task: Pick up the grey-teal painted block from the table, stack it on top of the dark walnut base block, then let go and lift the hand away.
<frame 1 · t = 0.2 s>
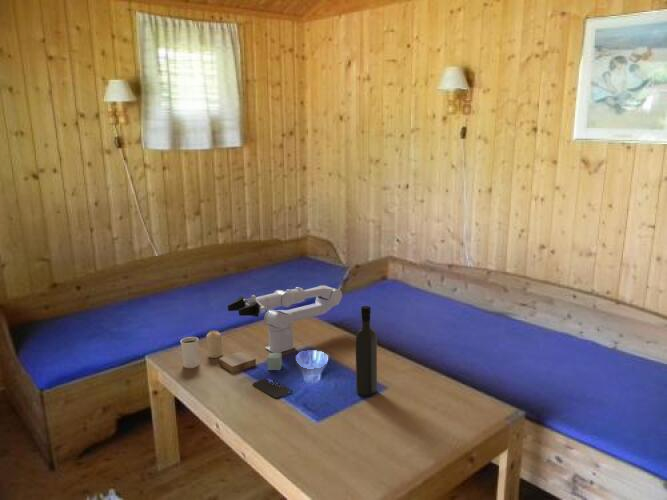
hand: (233, 310, 204), 21 cm above the table, tool horizontal, fingers open, 7 cm apart
walnut base: (237, 365, 207), on the table
wine bottle: (366, 392, 183), on the table
candle: (215, 355, 216), on the table
phone: (272, 390, 188), on the table
painted block: (275, 368, 204), on the table
beige cup: (191, 365, 208), on the table
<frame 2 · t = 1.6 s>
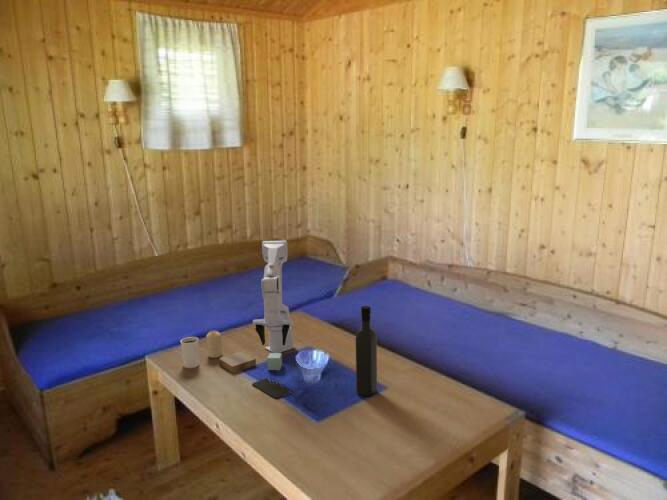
hand: (273, 344, 202), 9 cm above the table, tool pointing down, fingers open, 7 cm apart
nothing on the table moved.
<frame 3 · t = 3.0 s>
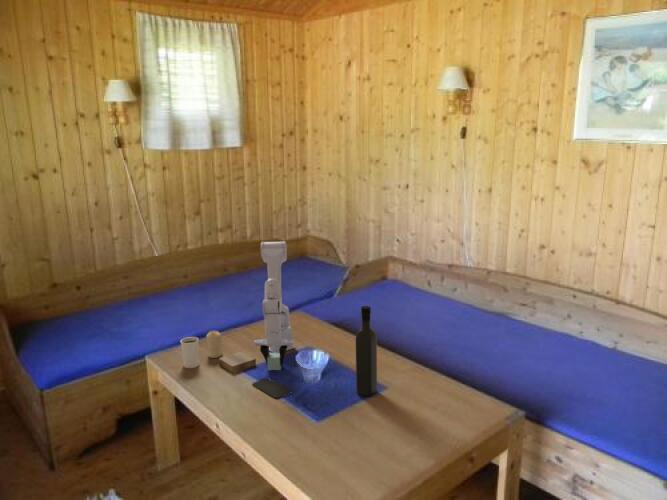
hand: (274, 364, 203), 1 cm above the table, tool pointing down, fingers closed on painted block, 4 cm apart
painted block: (275, 367, 204), on the table, touching gripper
everything else where it was.
when the fingers open (5 cm above the table, at t = 7.4 s): painted block drops 2 cm, resting on walnut base.
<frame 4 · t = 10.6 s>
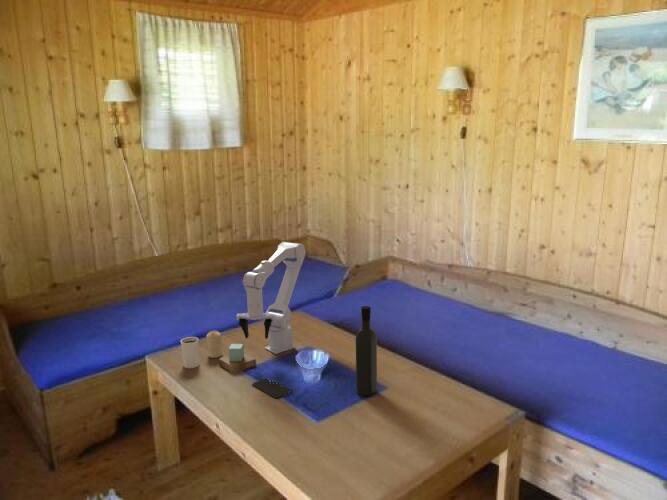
hand: (256, 337, 208), 9 cm above the table, tool pointing down, fingers open, 7 cm apart
walnut base: (237, 366, 207), on the table, touching painted block
painted block: (236, 358, 207), point 2 cm above the table, touching walnut base
everything else where it was.
at the end: painted block inside the target area on the walnut base (0.2 cm from its centre), point 3.0 cm above the walnut base's base; painted block tilted 1°; the gripper is holding nothing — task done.
